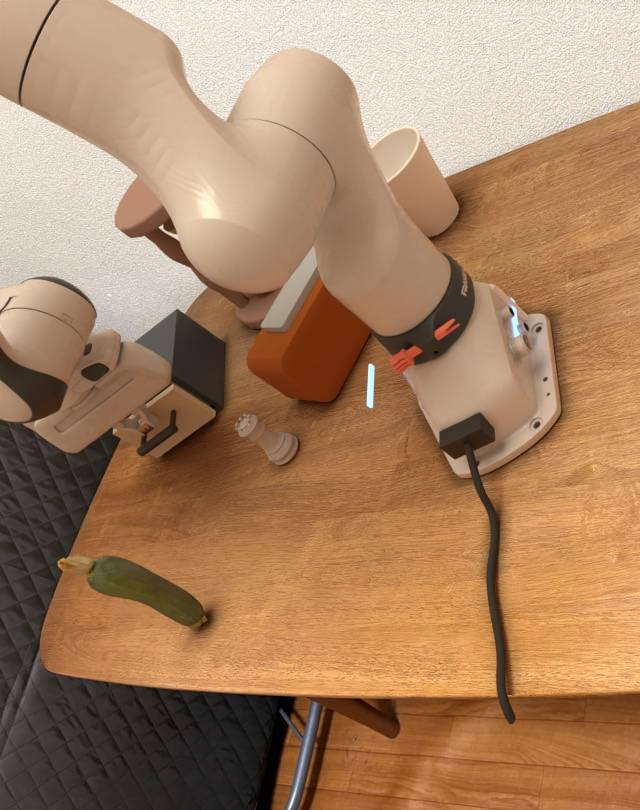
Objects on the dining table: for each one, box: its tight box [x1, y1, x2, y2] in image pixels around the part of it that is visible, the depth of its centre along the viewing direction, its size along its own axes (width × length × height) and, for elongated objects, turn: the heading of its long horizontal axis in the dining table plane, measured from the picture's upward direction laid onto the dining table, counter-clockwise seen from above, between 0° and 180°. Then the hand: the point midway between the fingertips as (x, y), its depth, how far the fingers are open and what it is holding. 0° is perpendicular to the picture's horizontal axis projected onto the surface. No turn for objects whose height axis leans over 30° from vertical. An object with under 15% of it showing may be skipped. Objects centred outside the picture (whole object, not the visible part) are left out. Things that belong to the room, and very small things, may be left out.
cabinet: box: [134, 308, 226, 413], centre depth 132 cm, size 16×14×10 cm
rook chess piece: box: [234, 413, 299, 466], centre depth 110 cm, size 4×4×8 cm
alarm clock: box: [246, 245, 372, 403], centre depth 115 cm, size 24×8×11 cm, turn 155°
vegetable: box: [57, 555, 208, 630], centre depth 96 cm, size 4×4×20 cm
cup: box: [370, 125, 460, 238], centre depth 118 cm, size 12×12×12 cm
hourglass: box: [114, 175, 285, 330], centre depth 129 cm, size 18×18×25 cm
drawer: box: [112, 379, 217, 459], centre depth 128 cm, size 19×12×8 cm, turn 17°
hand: (151, 428), depth 122 cm, fingers closed
